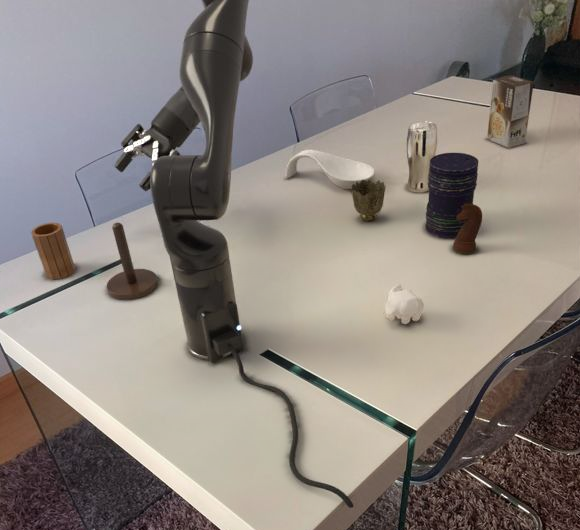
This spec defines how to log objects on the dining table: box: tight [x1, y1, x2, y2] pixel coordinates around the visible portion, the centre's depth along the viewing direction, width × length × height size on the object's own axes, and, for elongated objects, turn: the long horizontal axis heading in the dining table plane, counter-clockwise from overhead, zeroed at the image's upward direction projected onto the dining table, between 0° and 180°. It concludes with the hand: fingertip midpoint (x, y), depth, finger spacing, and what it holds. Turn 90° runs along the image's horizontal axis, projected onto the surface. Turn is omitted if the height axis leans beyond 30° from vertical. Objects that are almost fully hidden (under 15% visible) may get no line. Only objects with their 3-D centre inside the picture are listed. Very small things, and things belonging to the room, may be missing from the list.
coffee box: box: [486, 74, 535, 149], centre depth 171 cm, size 9×6×16 cm
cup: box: [351, 179, 386, 222], centre depth 142 cm, size 8×7×8 cm
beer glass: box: [406, 120, 438, 194], centre depth 152 cm, size 7×7×15 cm
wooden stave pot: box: [30, 222, 76, 280], centre depth 133 cm, size 6×6×10 cm
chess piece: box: [452, 203, 483, 256], centre depth 128 cm, size 5×5×10 cm
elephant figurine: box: [383, 284, 427, 325], centre depth 111 cm, size 7×8×6 cm
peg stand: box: [106, 222, 159, 301], centre depth 124 cm, size 10×10×14 cm
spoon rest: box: [285, 149, 376, 190], centre depth 161 cm, size 24×12×7 cm, turn 61°
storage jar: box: [425, 152, 479, 240], centre depth 134 cm, size 10×10×15 cm
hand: (130, 179), depth 134 cm, fingers open, 8 cm apart
